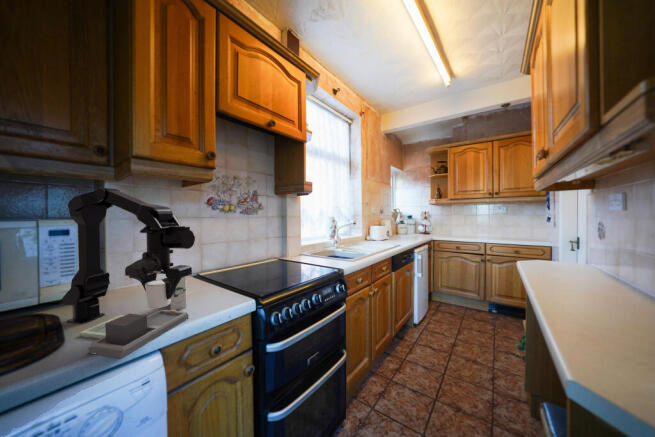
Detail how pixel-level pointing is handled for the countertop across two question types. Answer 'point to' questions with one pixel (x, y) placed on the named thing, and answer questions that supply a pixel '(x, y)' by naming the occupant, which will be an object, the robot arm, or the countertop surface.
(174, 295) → the ink box
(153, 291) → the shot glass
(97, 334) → the tray rim
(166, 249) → the robot arm
